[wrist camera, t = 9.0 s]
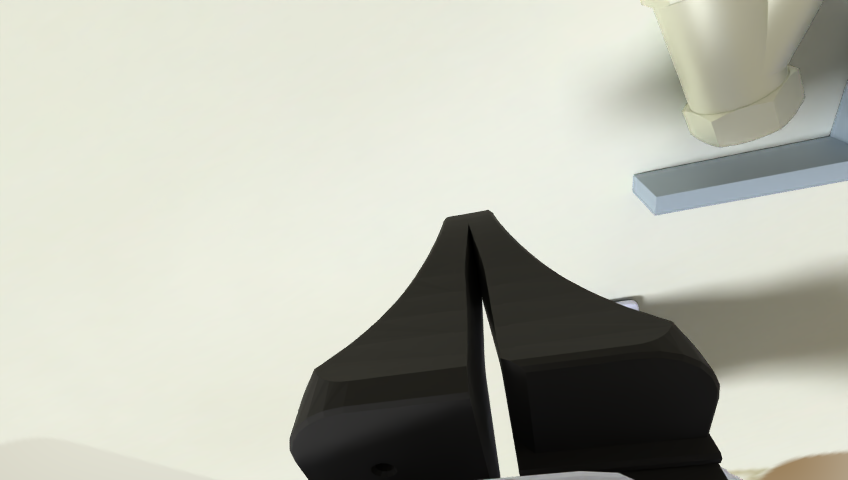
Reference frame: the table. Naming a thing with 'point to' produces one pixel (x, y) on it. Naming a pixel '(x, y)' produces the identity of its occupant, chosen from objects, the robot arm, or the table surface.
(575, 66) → the table surface
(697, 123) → the pipe fitting
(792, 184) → the shaft seat
